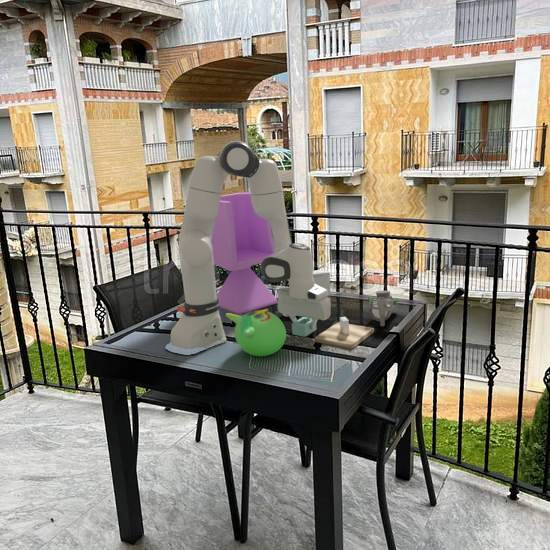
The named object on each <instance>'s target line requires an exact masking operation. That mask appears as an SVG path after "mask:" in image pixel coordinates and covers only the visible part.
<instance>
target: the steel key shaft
mask: <svg viewBox="0 0 550 550" xmlns="http://www.w3.org/2000/svg"><path fill="white" fill-rule="evenodd" d="M349 321H350V320H349V319H348V318H347V316H341V317H340V316H339V322H340V331H341V333H342V334H343V335H349V324H350V323H349Z"/></svg>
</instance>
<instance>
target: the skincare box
mask: <svg viewBox="0 0 550 550" xmlns="http://www.w3.org/2000/svg"><path fill="white" fill-rule="evenodd" d="M313 278H314V283H315V284H317V285H319V286H320V287H323V288H325V289H327V291H328V295H327V296H326V297H327V298H328V299H329V302H330V309H331V307H332V306H331V304H332V302H331V273H330V271H328V270H326V269H317V270H313Z"/></svg>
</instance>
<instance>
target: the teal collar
mask: <svg viewBox="0 0 550 550" xmlns="http://www.w3.org/2000/svg"><path fill="white" fill-rule="evenodd" d="M312 322H313V321H312V319H311V318H308V317H302V318H300V319H299V318H298V319H297V321H295V322H294V323H293V322H291V333H292V335H295V336H300V337H308V336H310V334H312V333H314V332H316V330H318V329H317V327H316V328H315V329H314V330H312V329H310V327H309V325H310V324H311V323H312Z"/></svg>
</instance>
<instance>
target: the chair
mask: <svg viewBox="0 0 550 550" xmlns="http://www.w3.org/2000/svg"><path fill="white" fill-rule="evenodd" d="M211 244H212V248H213V259H214V266H218V267H220V268H222V269H224V270H226V271H229V272H230V273H229V274H228V276H227V277H226V279H225V280H224V282H223V284H222V286H221V287H220V289H219V290H218V292H217V298H218V300H219V309H222V310H225V311H227V312H228V313H231V314H235V315H240V316H242V315H243V314H244V315H245V314H247V313H250V312H253V311H258V310H262V309H264V308H266V307H270V306H273V305H276V304H277V305H278V298H276V297H275V295H274V294H273V293H272V292H271V290H270V289H269V288H268V287H267V286H266V284H264V282H263V281H262V280H261V279H260V278H259V277H258V275H257V273H255V272H254V270H252V268H251V267H252V266H256V265H259V264H260V265H261V263H262V261H263V260H264V259H265V258H266V257H268V256H269V255H271V254H272V253H273V252H274V249H275V244H274V239H273V234H272V229H271V226H270V224H269V223H268V221H266V220H265V219H263V218H261V217H259V216H258V215H257V214H256V213H255V211H254V209H253V206H252V202H251V194H250V192H236V193H229V194H223V195H221V200H220V205H219V211H218V216H217V219H216V223H215V226H214V230H213V235H212V239H211Z"/></svg>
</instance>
